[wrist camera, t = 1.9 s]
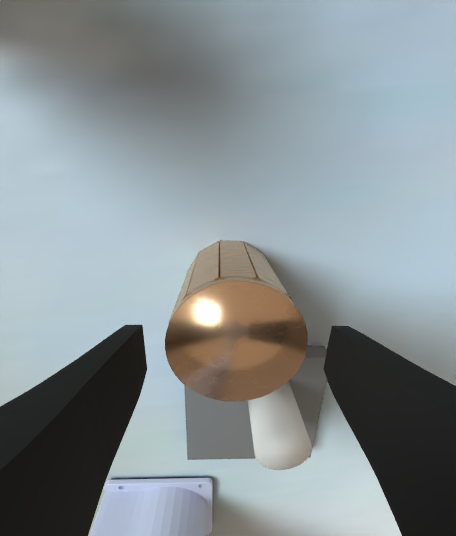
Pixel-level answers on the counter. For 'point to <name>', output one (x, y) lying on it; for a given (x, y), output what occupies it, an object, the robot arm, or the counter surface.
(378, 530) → the counter surface
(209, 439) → the base
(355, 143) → the counter surface
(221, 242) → the copper topped wooden cylinder
